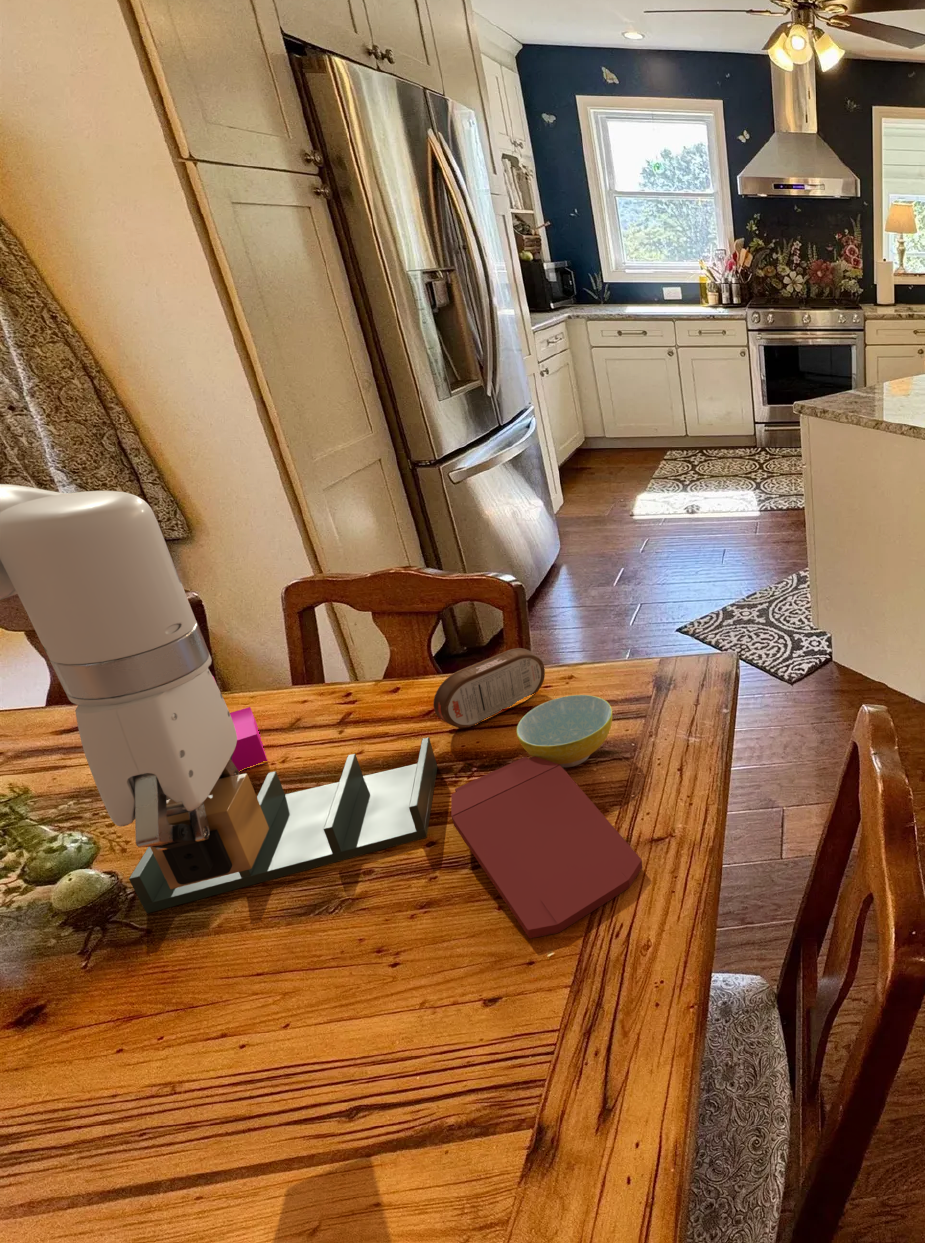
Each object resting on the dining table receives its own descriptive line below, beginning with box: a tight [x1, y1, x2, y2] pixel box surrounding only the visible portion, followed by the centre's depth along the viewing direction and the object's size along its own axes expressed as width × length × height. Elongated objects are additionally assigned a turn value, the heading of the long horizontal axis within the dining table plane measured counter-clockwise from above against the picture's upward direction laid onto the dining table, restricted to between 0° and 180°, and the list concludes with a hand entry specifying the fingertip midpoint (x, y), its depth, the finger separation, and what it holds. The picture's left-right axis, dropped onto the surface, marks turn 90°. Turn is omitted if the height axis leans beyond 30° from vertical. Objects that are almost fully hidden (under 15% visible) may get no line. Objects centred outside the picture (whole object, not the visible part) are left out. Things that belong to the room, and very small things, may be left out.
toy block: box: [212, 675, 268, 771], centre depth 97 cm, size 15×6×8 cm, turn 45°
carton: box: [450, 756, 643, 939], centre depth 83 cm, size 12×5×25 cm
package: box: [150, 772, 269, 889], centre depth 59 cm, size 5×5×6 cm
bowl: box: [516, 694, 613, 768], centre depth 97 cm, size 11×12×6 cm
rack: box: [128, 737, 438, 914], centre depth 84 cm, size 24×14×5 cm, turn 117°
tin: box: [433, 647, 546, 729], centre depth 106 cm, size 15×3×8 cm, turn 148°
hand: (218, 849), depth 60 cm, fingers closed on package, 5 cm apart
